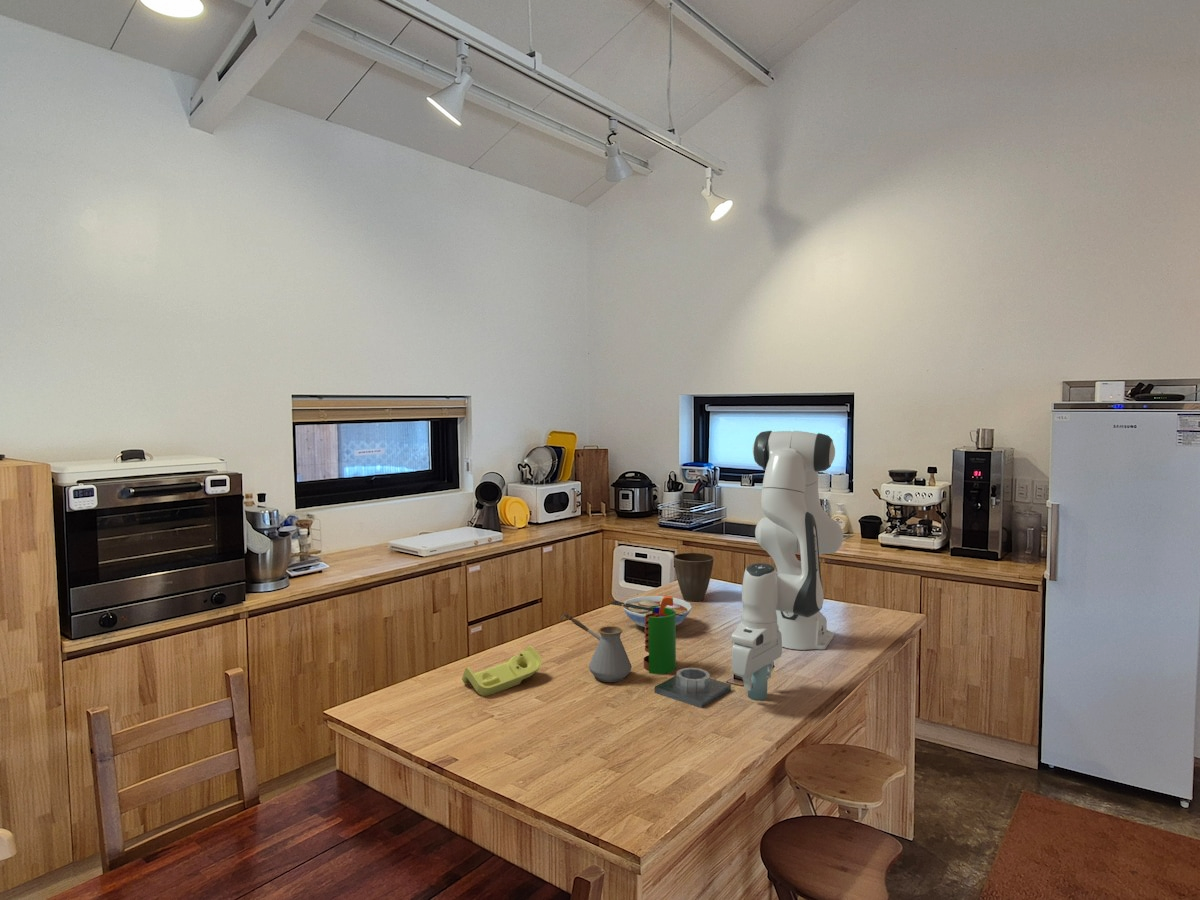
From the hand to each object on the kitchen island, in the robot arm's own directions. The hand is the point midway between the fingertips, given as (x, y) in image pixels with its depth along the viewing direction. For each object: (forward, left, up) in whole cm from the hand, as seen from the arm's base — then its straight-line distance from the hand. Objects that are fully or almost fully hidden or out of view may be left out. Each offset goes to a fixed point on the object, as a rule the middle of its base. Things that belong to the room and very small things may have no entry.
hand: (757, 683), depth 180 cm
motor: (0, -30, -4) cm, 30 cm away
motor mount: (+8, -14, -3) cm, 16 cm away
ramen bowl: (-28, -51, -4) cm, 58 cm away
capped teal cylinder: (0, 0, -3) cm, 3 cm away
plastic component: (+36, -55, -4) cm, 65 cm away
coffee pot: (+15, -41, -4) cm, 44 cm away
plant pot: (-64, -60, -4) cm, 88 cm away
